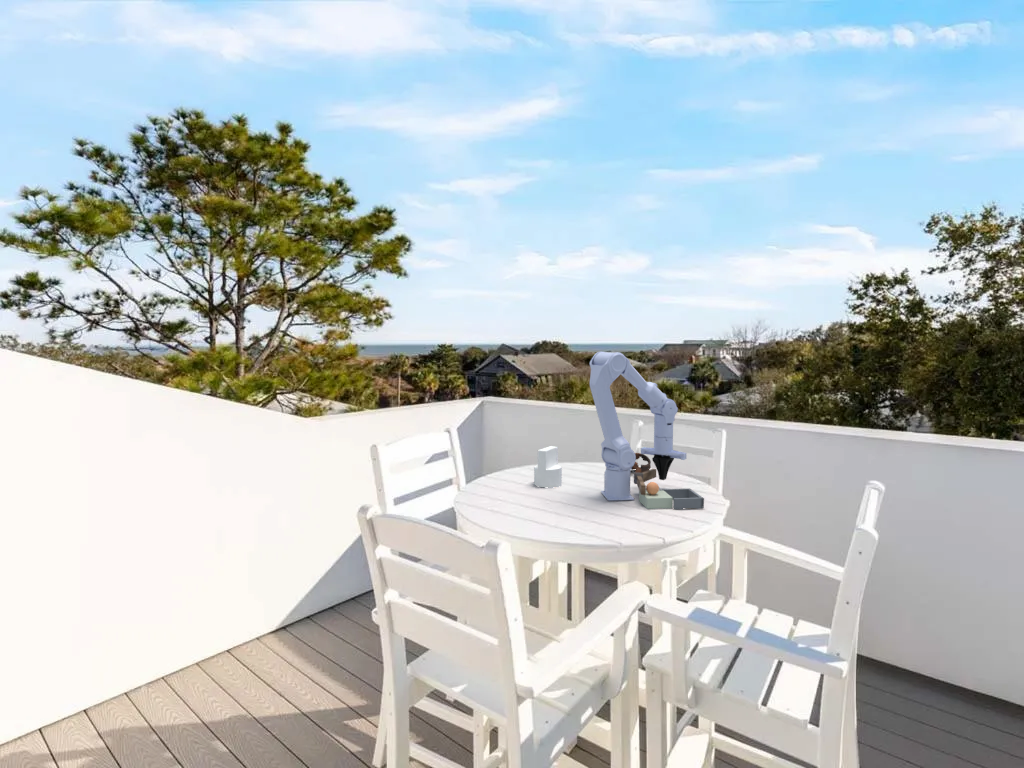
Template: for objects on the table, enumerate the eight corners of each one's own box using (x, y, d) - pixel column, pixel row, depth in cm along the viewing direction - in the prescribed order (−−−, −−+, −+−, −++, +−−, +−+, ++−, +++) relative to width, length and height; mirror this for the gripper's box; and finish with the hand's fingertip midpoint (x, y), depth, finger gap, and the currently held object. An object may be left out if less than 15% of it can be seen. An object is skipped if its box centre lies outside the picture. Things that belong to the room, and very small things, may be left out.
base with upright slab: (553, 489, 189) (553, 452, 188) (529, 485, 193) (529, 449, 192) (566, 483, 196) (566, 447, 195) (542, 480, 201) (542, 445, 200)
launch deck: (639, 500, 175) (639, 490, 175) (663, 500, 176) (663, 490, 175) (647, 508, 167) (647, 498, 167) (672, 508, 168) (672, 497, 167)
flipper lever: (639, 475, 192) (639, 466, 192) (656, 476, 190) (656, 467, 190) (626, 493, 171) (626, 483, 171) (645, 495, 169) (645, 484, 169)
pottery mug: (644, 471, 215) (652, 453, 211) (646, 488, 207) (654, 470, 203) (612, 462, 215) (619, 445, 211) (612, 479, 207) (620, 462, 203)
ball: (644, 492, 173) (644, 480, 172) (656, 492, 173) (656, 480, 173) (648, 496, 169) (648, 483, 169) (660, 495, 169) (660, 483, 169)
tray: (661, 499, 177) (662, 489, 177) (689, 498, 178) (689, 488, 177) (674, 509, 166) (674, 499, 166) (703, 508, 167) (703, 498, 167)
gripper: (691, 437, 183) (690, 480, 184) (648, 432, 193) (647, 473, 194) (681, 440, 178) (680, 484, 179) (637, 435, 187) (637, 477, 189)
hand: (662, 479), depth 186 cm, fingers closed
